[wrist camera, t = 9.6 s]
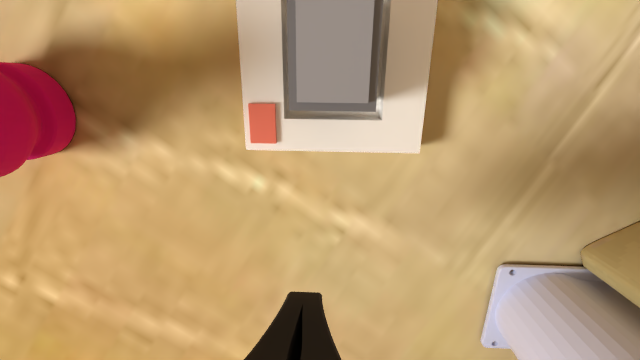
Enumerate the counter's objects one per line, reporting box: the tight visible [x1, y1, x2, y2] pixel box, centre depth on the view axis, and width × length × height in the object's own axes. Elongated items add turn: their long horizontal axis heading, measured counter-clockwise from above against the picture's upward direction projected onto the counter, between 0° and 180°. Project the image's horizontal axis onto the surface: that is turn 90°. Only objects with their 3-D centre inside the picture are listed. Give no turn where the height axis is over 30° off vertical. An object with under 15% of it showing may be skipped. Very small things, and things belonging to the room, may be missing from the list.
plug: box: [287, 0, 383, 112], centre depth 16 cm, size 4×5×6 cm
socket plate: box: [236, 0, 438, 153], centre depth 18 cm, size 11×11×2 cm
